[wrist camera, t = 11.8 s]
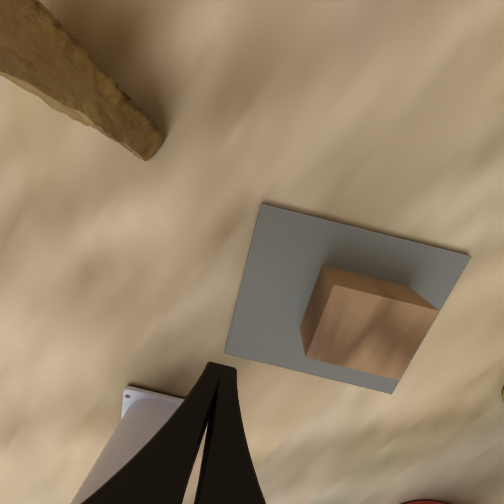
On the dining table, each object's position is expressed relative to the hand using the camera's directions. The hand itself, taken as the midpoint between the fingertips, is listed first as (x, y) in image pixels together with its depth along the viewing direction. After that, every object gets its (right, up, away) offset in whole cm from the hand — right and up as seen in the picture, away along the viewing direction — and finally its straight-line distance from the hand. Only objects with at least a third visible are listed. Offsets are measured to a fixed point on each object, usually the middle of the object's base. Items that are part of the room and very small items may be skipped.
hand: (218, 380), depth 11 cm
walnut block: (+6, +2, +7) cm, 9 cm away
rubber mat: (+8, +1, +9) cm, 12 cm away
